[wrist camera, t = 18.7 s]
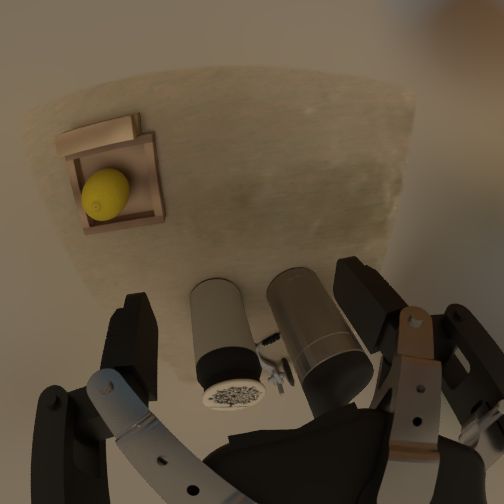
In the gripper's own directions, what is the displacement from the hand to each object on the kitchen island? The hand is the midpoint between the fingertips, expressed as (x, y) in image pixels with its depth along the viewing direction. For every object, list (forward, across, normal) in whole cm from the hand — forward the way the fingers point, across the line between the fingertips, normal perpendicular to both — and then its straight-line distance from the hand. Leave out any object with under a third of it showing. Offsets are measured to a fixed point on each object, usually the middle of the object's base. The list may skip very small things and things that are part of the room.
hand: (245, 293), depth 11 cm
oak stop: (+24, +12, -6) cm, 28 cm away
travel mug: (+25, +2, +21) cm, 33 cm away
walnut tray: (+25, +12, 0) cm, 28 cm away
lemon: (+25, +12, 0) cm, 27 cm away
